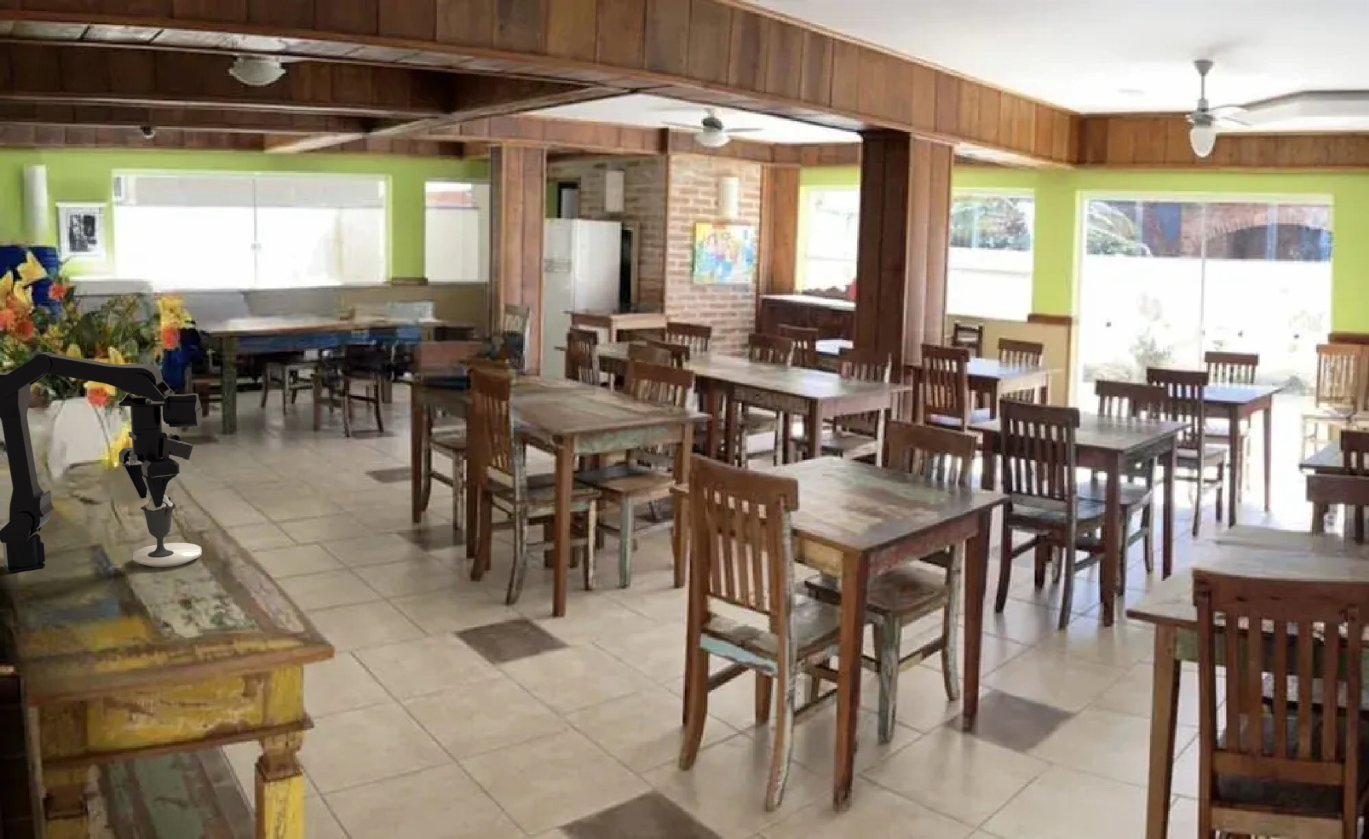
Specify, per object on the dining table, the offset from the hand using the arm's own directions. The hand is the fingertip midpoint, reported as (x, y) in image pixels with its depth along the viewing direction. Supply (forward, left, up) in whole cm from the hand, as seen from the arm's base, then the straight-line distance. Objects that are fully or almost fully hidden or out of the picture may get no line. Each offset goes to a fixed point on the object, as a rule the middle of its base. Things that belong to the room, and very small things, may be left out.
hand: (150, 502), depth 244 cm
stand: (+3, 0, -13) cm, 13 cm away
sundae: (+1, -1, -11) cm, 11 cm away
